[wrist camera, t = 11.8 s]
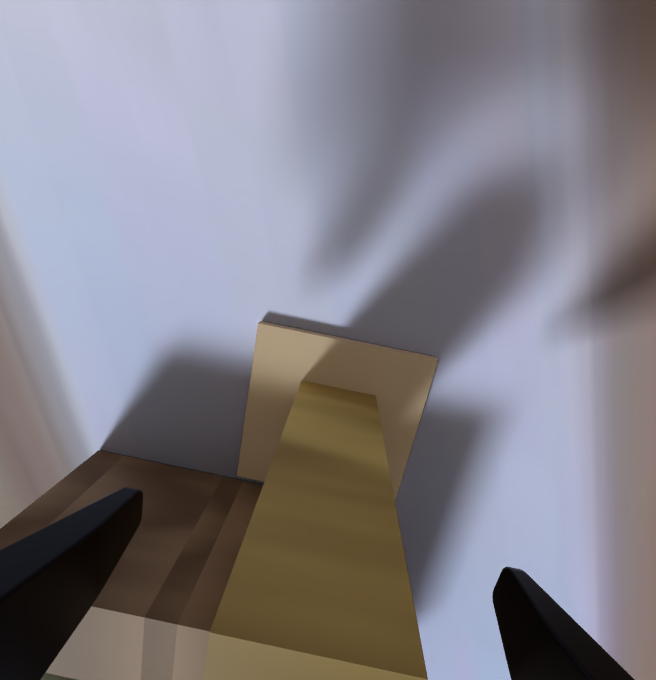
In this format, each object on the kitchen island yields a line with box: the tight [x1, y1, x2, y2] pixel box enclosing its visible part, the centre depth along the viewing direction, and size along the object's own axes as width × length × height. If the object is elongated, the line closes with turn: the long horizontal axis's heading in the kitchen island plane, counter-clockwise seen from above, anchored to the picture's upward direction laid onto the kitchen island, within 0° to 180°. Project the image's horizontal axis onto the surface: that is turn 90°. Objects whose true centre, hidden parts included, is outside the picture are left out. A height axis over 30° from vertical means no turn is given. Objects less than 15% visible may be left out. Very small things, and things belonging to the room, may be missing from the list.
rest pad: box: [237, 321, 438, 501], centre depth 14 cm, size 7×7×1 cm
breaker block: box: [0, 451, 263, 680], centre depth 14 cm, size 14×11×6 cm
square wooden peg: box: [203, 380, 428, 680], centre depth 9 cm, size 3×3×9 cm
